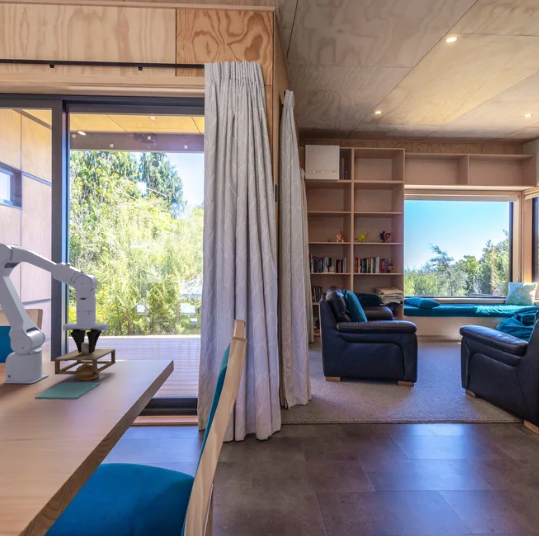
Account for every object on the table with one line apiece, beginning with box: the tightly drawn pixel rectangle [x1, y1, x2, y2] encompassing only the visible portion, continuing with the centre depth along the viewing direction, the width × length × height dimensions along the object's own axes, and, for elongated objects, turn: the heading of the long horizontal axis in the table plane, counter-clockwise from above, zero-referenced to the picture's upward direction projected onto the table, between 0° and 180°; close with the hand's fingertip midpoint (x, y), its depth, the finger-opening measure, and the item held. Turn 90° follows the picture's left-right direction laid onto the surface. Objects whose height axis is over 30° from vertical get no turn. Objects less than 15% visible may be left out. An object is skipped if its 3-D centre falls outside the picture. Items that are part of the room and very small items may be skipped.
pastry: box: [74, 364, 101, 381], centre depth 119 cm, size 9×7×4 cm
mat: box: [34, 382, 101, 400], centre depth 106 cm, size 12×12×1 cm
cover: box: [54, 341, 116, 376], centre depth 119 cm, size 13×13×8 cm
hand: (86, 352), depth 119 cm, fingers closed on cover, 3 cm apart
